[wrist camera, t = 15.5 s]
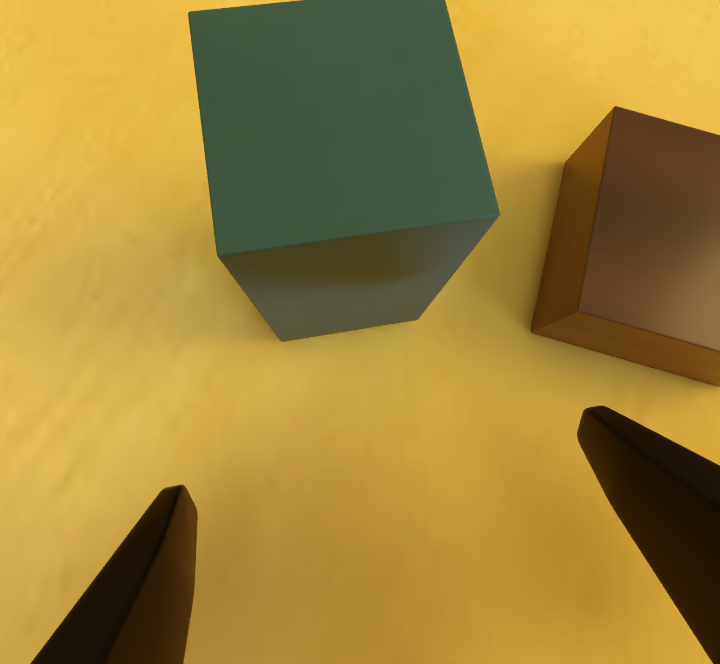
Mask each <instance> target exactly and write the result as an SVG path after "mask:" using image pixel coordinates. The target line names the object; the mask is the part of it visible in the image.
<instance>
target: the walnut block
mask: <svg viewBox="0 0 720 664" xmlns="http://www.w3.org/2000/svg"><path fill="white" fill-rule="evenodd" d="M531 332H532V333H535V334H539V335H542V336H546V337H549V338H553V339H556V340H559V341H563V342H566V343H570V344H573V345H577V346H580V347H584V348H587V349H591V350H594V351H598V352H601V353H605V354H608V355H612V356H615V357H619V358H622V359H626V360H629V361H633V362H636V363H640V364H643V365H646V366H650V367H653V368H657V369H660V370H664V371H667V372H671V373H674V374H678V375H681V376H685V377H688V378H692V379H695V380H699V381H702V382H706V383H709V384H713V385H716V386H720V135H717V134H713V133H709V132H706V131H702V130H699V129H695V128H692V127H688V126H685V125H681V124H677V123H674V122H670V121H667V120H663V119H660V118H656V117H652V116H649V115H645V114H642V113H638V112H635V111H631V110H628V109H624V108H620V107H617V106H615V107H614V108H613V109H612V110H611V111H610V112H609V113H608V115H607V116H606V117H605V118H604V119H603V120H602V121H601V123H600V124H599V125H598V126H597V127H596V128H595V129H594V131H593V132H592V133H591V134H590V135H589V136H588V137H587V138H586V140H585V141H584V142H583V143H582V144H581V145H580V146H579V148H578V149H577V150H576V151H575V152H574V153H573V154H572V155H571V157H570V158H569V159H568V160H567V161H566V163H565V168H564V172H563V177H562V182H561V187H560V192H559V197H558V202H557V207H556V212H555V216H554V221H553V226H552V231H551V236H550V241H549V246H548V251H547V256H546V260H545V265H544V270H543V275H542V280H541V285H540V290H539V295H538V299H537V304H536V309H535V314H534V319H533V324H532V329H531Z"/></svg>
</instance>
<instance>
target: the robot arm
mask: <svg viewBox="0 0 720 664" xmlns="http://www.w3.org/2000/svg"><path fill="white" fill-rule="evenodd" d="M577 437H578V441H579V444H580V446H581V448H582V450H583V452H584V454H585V456H586V458H587V460H588V462H589V464H590V466H591V467H592V469H593V471H594V473H595V475H596V477H597V479H598V481H599V483H600V485H601V487H602V489H603V491H604V493H605V495H606V497H607V498H608V500H609V502H610V504H611V506H612V507H613V509H614V510H615V512H616V514H617V515H618V517H619V518H620V520H621V521H622V523H623V525H624V526H625V528H626V529H627V531H628V532H629V534H630V535H631V537H632V539H633V540H634V542H635V543H636V545H637V546H638V548H639V549H640V551H641V553H642V554H643V556H644V557H645V559H646V560H647V562H648V563H649V565H650V566H651V568H652V570H653V571H654V573H655V574H656V576H657V577H658V579H659V580H660V582H661V584H662V585H663V587H664V588H665V590H666V591H667V593H668V594H669V596H670V598H671V599H672V601H673V602H674V604H675V605H676V607H677V608H678V610H679V612H680V613H681V615H682V616H683V618H684V619H685V621H686V622H687V624H688V625H689V627H690V629H691V630H692V632H693V633H694V635H695V636H696V638H697V639H698V641H699V643H700V644H701V646H702V647H703V649H704V650H705V652H706V653H707V655H708V657H709V658H710V660H711V661H712V663H713V664H720V466H719V465H718V464H716V463H714V462H712V461H710V460H708V459H706V458H704V457H702V456H700V455H698V454H696V453H694V452H692V451H691V450H689V449H687V448H685V447H683V446H681V445H679V444H677V443H675V442H673V441H671V440H669V439H667V438H666V437H664V436H662V435H660V434H658V433H656V432H654V431H652V430H650V429H648V428H646V427H644V426H642V425H640V424H639V423H637V422H635V421H633V420H631V419H629V418H627V417H625V416H623V415H621V414H619V413H617V412H615V411H613V410H612V409H610V408H608V407H605V406H595V407H590V408H586V409H585V410H584V411H583V413H582V417H581V421H580V424H579V428H578V432H577ZM197 518H198V517H197V509H196V506H195V504H194V502H193V500H192V498H191V496H190V494H189V492H188V490H187V488H186V487H185V486H184V485H177V486H171V487H167V488H164V489H163V490H162V491H161V492H160V493H159V494H158V496H157V497H156V498H155V500H154V501H153V502H152V504H151V505H150V506H149V508H148V509H147V510H146V511H145V513H144V514H143V515H142V517H141V518H140V519H139V521H138V522H137V523H136V525H135V526H134V527H133V529H132V530H131V531H130V533H129V534H128V535H127V537H126V538H125V539H124V541H123V542H122V543H121V545H120V546H119V547H118V549H117V550H116V551H115V553H114V554H113V555H112V556H111V558H110V559H109V560H108V562H107V563H106V564H105V566H104V567H103V568H102V570H101V571H100V572H99V574H98V575H97V576H96V578H95V579H94V580H93V582H92V583H91V584H90V586H89V587H88V588H87V590H86V591H85V592H84V594H83V595H82V596H81V598H80V599H79V600H78V601H77V603H76V604H75V605H74V607H73V608H72V609H71V611H70V612H69V613H68V615H67V616H66V617H65V619H64V620H63V621H62V623H61V624H60V625H59V627H58V628H57V629H56V631H55V632H54V633H53V635H52V636H51V637H50V639H49V640H48V641H47V643H46V644H45V645H44V646H43V648H42V649H41V650H40V652H39V653H38V654H37V656H36V657H35V658H34V660H33V661H32V662H31V664H183V662H184V656H185V649H186V643H187V636H188V630H189V623H190V617H191V610H192V603H193V596H194V585H195V565H196V542H197Z"/></svg>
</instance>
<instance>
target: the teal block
mask: <svg viewBox="0 0 720 664" xmlns="http://www.w3.org/2000/svg"><path fill="white" fill-rule="evenodd" d="M188 17H189V26H190V34H191V42H192V51H193V59H194V67H195V76H196V84H197V92H198V101H199V109H200V117H201V126H202V134H203V142H204V151H205V159H206V167H207V176H208V184H209V193H210V201H211V209H212V218H213V226H214V234H215V243H216V251H217V256H218V257H219V259H220V260H221V261H222V263H223V264H224V265H225V267H226V268H227V269H228V271H229V272H230V273H231V275H232V276H233V277H234V279H235V280H236V281H237V283H238V284H239V285H240V287H241V288H242V289H243V291H244V292H245V293H246V295H247V296H248V298H249V299H250V300H251V302H252V303H253V304H254V306H255V307H256V308H257V310H258V311H259V312H260V314H261V315H262V316H263V318H264V319H265V320H266V322H267V323H268V324H269V326H270V327H271V328H272V330H273V331H274V332H275V334H276V335H277V336H278V338H279V339H280V340H281V341H282V342H283V341H289V340H295V339H301V338H307V337H313V336H319V335H325V334H332V333H338V332H344V331H350V330H356V329H362V328H368V327H374V326H380V325H386V324H393V323H399V322H405V321H411V320H417V319H418V318H419V317H420V316H421V315H422V313H423V312H424V311H425V309H426V308H427V307H428V306H429V304H430V303H431V302H432V301H433V299H434V298H435V297H436V296H437V294H438V293H439V292H440V290H441V289H442V288H443V287H444V285H445V284H446V283H447V282H448V280H449V279H450V278H451V277H452V275H453V274H454V273H455V271H456V270H457V269H458V268H459V266H460V265H461V264H462V263H463V261H464V260H465V259H466V258H467V256H468V255H469V254H470V252H471V251H472V250H473V249H474V247H475V246H476V245H477V244H478V242H479V241H480V240H481V238H482V237H483V236H484V235H485V233H486V232H487V231H488V230H489V228H490V227H491V226H492V225H493V223H494V222H495V221H496V219H497V218H498V217H499V216H500V212H499V208H498V204H497V200H496V196H495V193H494V189H493V185H492V181H491V177H490V173H489V169H488V165H487V161H486V158H485V154H484V150H483V146H482V142H481V138H480V134H479V130H478V126H477V123H476V119H475V115H474V111H473V107H472V103H471V99H470V95H469V91H468V88H467V84H466V80H465V76H464V72H463V68H462V64H461V60H460V56H459V53H458V49H457V45H456V41H455V37H454V33H453V29H452V25H451V21H450V18H449V14H448V10H447V6H446V2H445V0H301V1H291V2H281V3H271V4H261V5H251V6H241V7H231V8H221V9H211V10H201V11H191V12H189V13H188Z"/></svg>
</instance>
